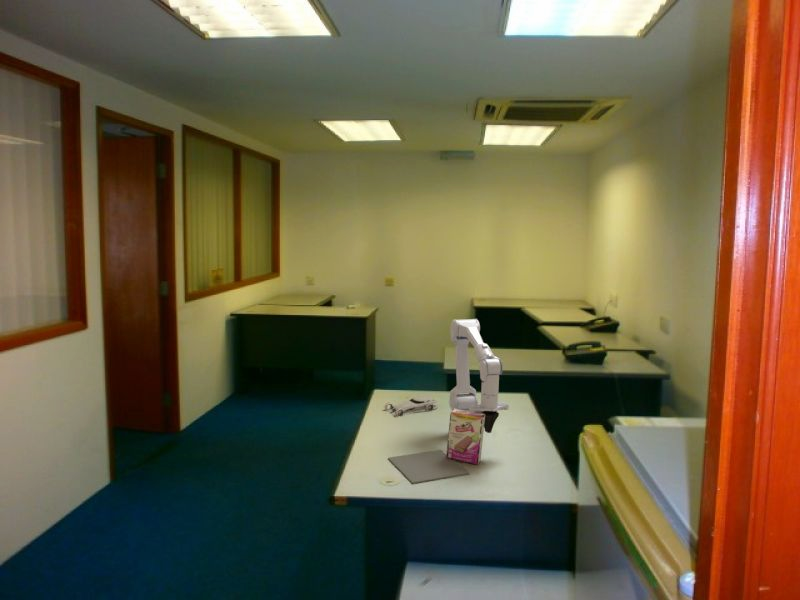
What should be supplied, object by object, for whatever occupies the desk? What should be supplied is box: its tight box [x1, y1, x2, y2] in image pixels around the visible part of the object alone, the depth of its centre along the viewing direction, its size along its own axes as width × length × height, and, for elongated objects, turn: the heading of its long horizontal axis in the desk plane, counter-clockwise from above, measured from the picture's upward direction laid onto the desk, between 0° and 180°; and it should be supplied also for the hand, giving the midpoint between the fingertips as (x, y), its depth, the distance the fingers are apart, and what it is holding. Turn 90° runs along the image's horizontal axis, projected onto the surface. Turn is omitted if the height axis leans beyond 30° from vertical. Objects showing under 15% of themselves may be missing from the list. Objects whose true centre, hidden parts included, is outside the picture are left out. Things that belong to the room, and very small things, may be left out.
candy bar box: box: [446, 409, 485, 465], centre depth 190 cm, size 11×5×16 cm, turn 71°
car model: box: [383, 396, 439, 417], centre depth 243 cm, size 11×24×5 cm, turn 122°
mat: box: [387, 449, 471, 485], centre depth 186 cm, size 20×20×1 cm
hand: (488, 431), depth 194 cm, fingers closed
